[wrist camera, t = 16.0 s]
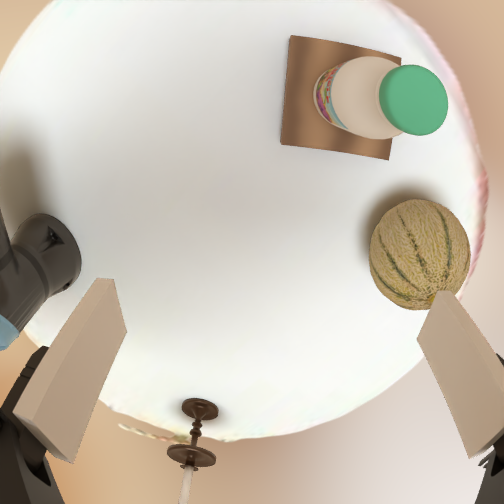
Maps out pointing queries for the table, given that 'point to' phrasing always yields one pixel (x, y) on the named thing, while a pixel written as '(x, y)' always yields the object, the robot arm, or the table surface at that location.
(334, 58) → the block
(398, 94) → the milk bottle
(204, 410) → the candlestick
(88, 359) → the robot arm
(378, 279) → the cantaloupe
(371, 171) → the table surface
